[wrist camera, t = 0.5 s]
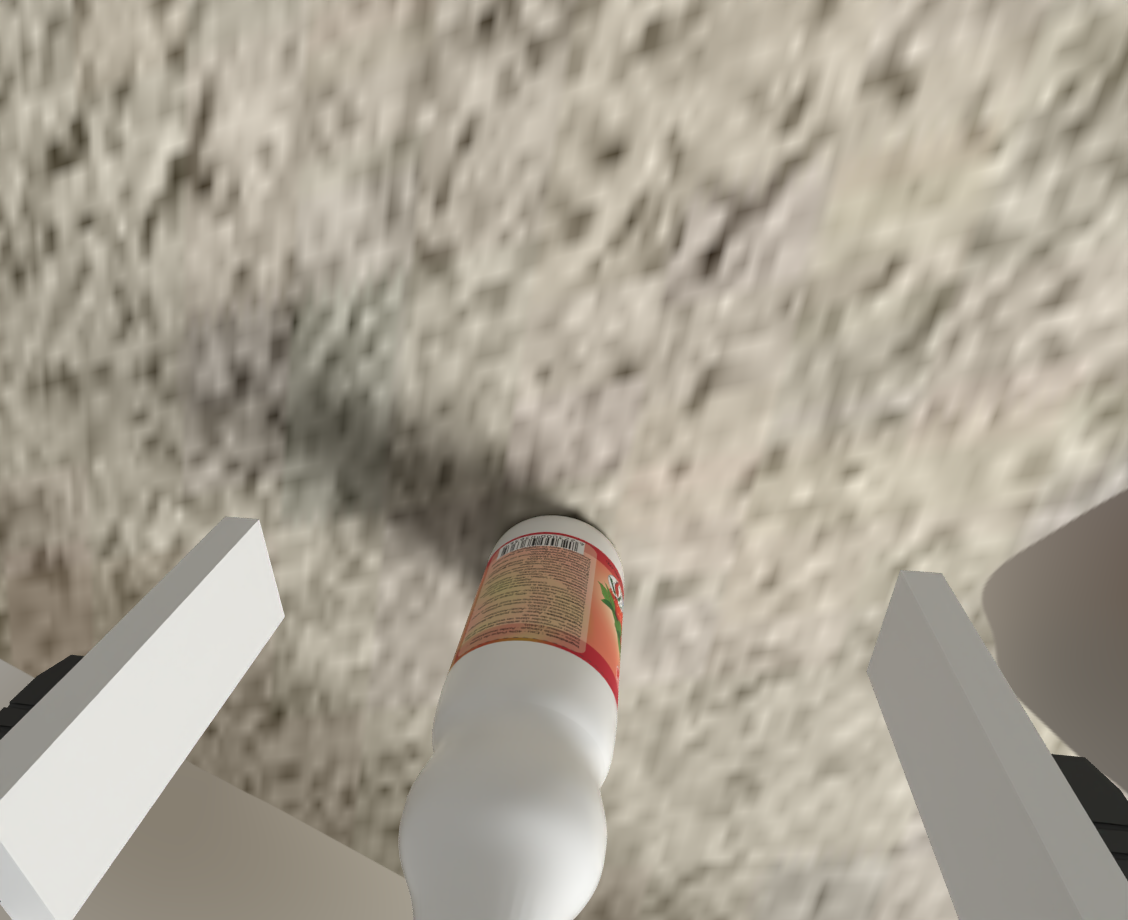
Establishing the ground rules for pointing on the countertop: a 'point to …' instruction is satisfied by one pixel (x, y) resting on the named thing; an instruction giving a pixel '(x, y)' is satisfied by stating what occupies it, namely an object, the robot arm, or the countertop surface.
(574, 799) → the fruit juice
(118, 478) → the countertop surface
